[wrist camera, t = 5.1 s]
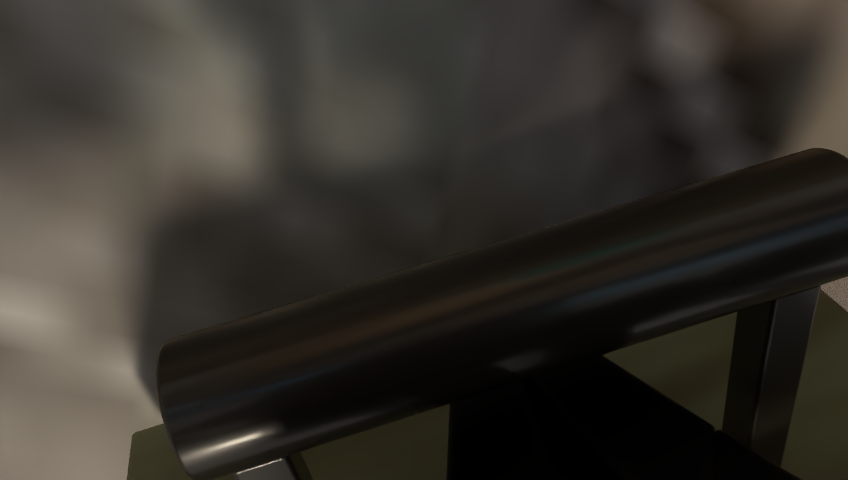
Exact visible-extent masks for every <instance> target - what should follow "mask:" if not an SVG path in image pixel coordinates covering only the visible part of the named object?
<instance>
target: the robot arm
mask: <svg viewBox="0 0 848 480" xmlns="http://www.w3.org/2000/svg"><path fill="white" fill-rule="evenodd" d="M446 480H803V479H801V478H799V477H797V476H795V475H794V474H792V473H790V472H788V471H786V470H785V469H783V468H781V467H780V466H778V465H776V464H775V463H773V462H771V461H770V460H768V459H766V458H765V457H763V456H761V455H760V454H758V453H756V452H755V451H753V450H751V449H750V448H748V447H746V446H745V445H743V444H742V443H740V442H739V441H737V440H735V439H734V438H732V437H731V436H729V435H728V434H726V433H724V432H723V431H721V430H716V431H715V428H714V426H713V425H711V424H710V423H708V422H707V421H705V420H704V419H702V418H700V417H699V416H697V415H696V414H694V413H693V412H691V411H689V410H688V409H686V408H685V407H683V406H682V405H680V404H678V403H677V402H675V401H674V400H672V399H670V398H669V397H667V396H666V395H664V394H663V393H661V392H659V391H658V390H656V389H655V388H653V387H652V386H650V385H648V384H647V383H645V382H644V381H642V380H641V379H639V378H637V377H636V376H634V375H633V374H631V373H630V372H628V371H626V370H625V369H623V368H622V367H620V366H619V365H617V364H615V363H614V362H612V361H611V360H609V359H608V358H606V357H604V356H603V355H601V356H597V357H594V358H591V359H588V360H585V361H582V362H579V363H576V364H573V365H569V366H566V367H563V368H560V369H557V370H554V371H551V372H548V373H544V374H541V375H538V376H535V377H532V378H529V379H526V380H523V381H519V382H516V383H513V384H510V385H507V386H504V387H501V388H498V389H495V390H491V391H488V392H485V393H482V394H479V395H476V396H473V397H470V398H466V399H463V400H460V401H457V402H454V403H451V404H450V407H449V429H448V451H447V473H446Z"/></svg>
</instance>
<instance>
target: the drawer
mask: <svg viewBox="0 0 848 480" xmlns="http://www.w3.org/2000/svg"><path fill="white" fill-rule="evenodd" d="M847 276H848V158H846V157H845V156H843V155H841V154H840V153H838V152H835V151H832V150H829V149H824V148H812V149H807V150H804V151H800V152H797V153H794V154H790V155H787V156H784V157H780V158H777V159H774V160H770V161H767V162H764V163H760V164H757V165H753V166H750V167H747V168H743V169H740V170H737V171H733V172H730V173H727V174H723V175H720V176H717V177H713V178H710V179H706V180H703V181H700V182H696V183H693V184H690V185H686V186H683V187H680V188H676V189H673V190H670V191H666V192H663V193H660V194H656V195H653V196H649V197H646V198H643V199H639V200H636V201H633V202H629V203H626V204H623V205H619V206H616V207H613V208H609V209H606V210H602V211H599V212H596V213H592V214H589V215H586V216H582V217H579V218H576V219H572V220H569V221H566V222H562V223H559V224H556V225H552V226H549V227H545V228H542V229H539V230H535V231H532V232H529V233H525V234H522V235H519V236H515V237H512V238H509V239H505V240H502V241H498V242H495V243H492V244H488V245H485V246H482V247H478V248H475V249H472V250H468V251H465V252H462V253H458V254H455V255H452V256H448V257H445V258H441V259H438V260H435V261H431V262H428V263H425V264H421V265H418V266H415V267H411V268H408V269H405V270H401V271H398V272H394V273H391V274H388V275H384V276H381V277H378V278H374V279H371V280H368V281H364V282H361V283H358V284H354V285H351V286H348V287H344V288H341V289H337V290H334V291H331V292H327V293H324V294H321V295H317V296H314V297H311V298H307V299H304V300H301V301H297V302H294V303H290V304H287V305H284V306H280V307H277V308H274V309H270V310H267V311H264V312H260V313H257V314H254V315H250V316H247V317H244V318H240V319H237V320H233V321H230V322H227V323H223V324H220V325H217V326H213V327H210V328H207V329H203V330H200V331H197V332H193V333H190V334H186V335H183V336H180V337H176V338H173V339H170V340H168V341H166V342H165V343H164V344H163V345H162V346H161V348H160V350H159V353H158V357H157V368H156V377H157V391H158V399H159V404H160V409H161V414H162V418H163V422H164V424H161V425H157V426H154V427H151V428H148V429H145V430H141V431H138V432H135V433H134V434H133V435H132V442H131V450H130V458H129V466H128V474H127V480H446V473H447V451H448V429H449V407H450V404H451V403H454V402H457V401H460V400H463V399H466V398H470V397H473V396H476V395H479V394H482V393H485V392H488V391H491V390H495V389H498V388H501V387H504V386H507V385H510V384H513V383H516V382H519V381H523V380H526V379H529V378H532V377H535V376H538V375H541V374H544V373H548V372H551V371H554V370H557V369H560V368H563V367H566V366H569V365H573V364H576V363H579V362H582V361H585V360H588V359H591V358H594V357H597V356H601V355H603V356H604V357H606V358H608V359H609V360H611V361H612V362H614V363H615V364H617V365H619V366H620V367H622V368H623V369H625V370H626V371H628V372H630V373H631V374H633V375H634V376H636V377H637V378H639V379H641V380H642V381H644V382H645V383H647V384H648V385H650V386H652V387H653V388H655V389H656V390H658V391H659V392H661V393H663V394H664V395H666V396H667V397H669V398H670V399H672V400H674V401H675V402H677V403H678V404H680V405H682V406H683V407H685V408H686V409H688V410H689V411H691V412H693V413H694V414H696V415H697V416H699V417H700V418H702V419H704V420H705V421H707V422H708V423H710V424H711V425H713V426H714V428H715V431H716V430H721V431H723V432H724V433H726V434H728V435H729V436H731V437H732V438H734V439H735V440H737V441H739V442H740V443H742V444H743V445H745V446H746V447H748V448H750V449H751V450H753V451H755V452H756V453H758V454H760V455H761V456H763V457H765V458H766V459H768V460H770V461H771V462H773V463H775V464H776V465H778V466H780V467H781V468H783V469H785V470H786V471H788V472H790V473H792V474H794V475H795V476H797V477H799V478H801V479H803V480H848V312H847V311H846V310H845V309H843V308H842V307H841V306H840V305H839V304H838V303H836V302H835V301H834V300H833V299H832V298H831V297H829V296H828V295H827V294H826V293H825V292H824V291H822V290H821V285H822V284H825V283H828V282H831V281H835V280H838V279H841V278H844V277H847Z"/></svg>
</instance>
